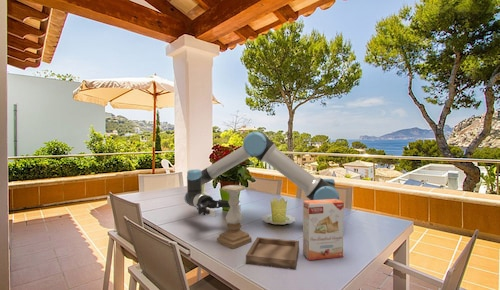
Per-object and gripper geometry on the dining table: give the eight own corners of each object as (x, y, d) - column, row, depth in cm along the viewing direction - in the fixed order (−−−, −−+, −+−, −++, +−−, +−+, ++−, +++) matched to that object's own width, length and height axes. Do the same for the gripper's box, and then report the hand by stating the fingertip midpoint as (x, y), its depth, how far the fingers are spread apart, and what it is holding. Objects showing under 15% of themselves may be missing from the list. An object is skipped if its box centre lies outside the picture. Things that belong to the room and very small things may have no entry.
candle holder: (216, 241, 110) (215, 187, 110) (235, 235, 118) (234, 183, 118) (232, 249, 103) (232, 190, 102) (252, 241, 110) (251, 186, 110)
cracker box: (309, 261, 92) (308, 203, 91) (302, 254, 98) (302, 199, 97) (344, 257, 94) (344, 201, 94) (335, 250, 100) (335, 197, 100)
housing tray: (299, 248, 103) (299, 240, 103) (295, 269, 86) (295, 260, 86) (257, 244, 107) (257, 237, 107) (246, 263, 91) (245, 255, 91)
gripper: (224, 205, 137) (249, 213, 121) (180, 214, 121) (202, 225, 105) (224, 191, 137) (249, 198, 121) (180, 198, 121) (202, 207, 105)
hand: (227, 210), depth 113 cm, fingers open, 13 cm apart
